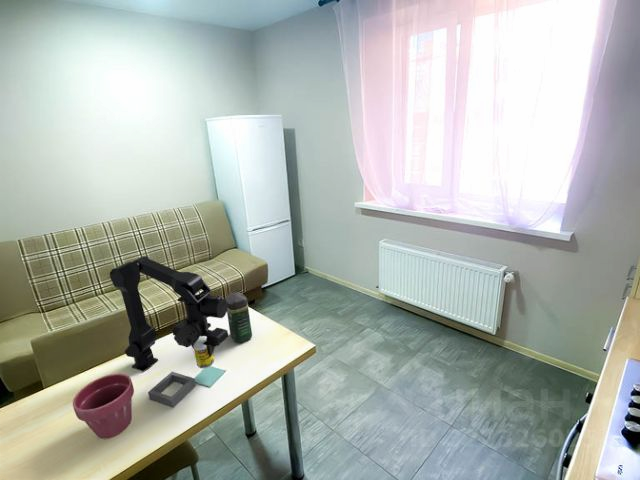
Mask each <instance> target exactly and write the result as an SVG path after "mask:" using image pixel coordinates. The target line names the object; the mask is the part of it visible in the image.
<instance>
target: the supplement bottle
mask: <svg viewBox="0 0 640 480" xmlns="http://www.w3.org/2000/svg"><path fill="white" fill-rule="evenodd" d="M206 338H207V337H206V336H203V337H201V336H200V337H199V339H198V340H197V341H196V343H195V344H194V346H193V347H194V349H193V352H194V357H195V362H196V366H197V367H198V368H199V369H204V368H208V367H210V366H212V365H213V364H214V362H215V358H214V354H213V355H212V356H211V357H210V356H209V354H208V350H207V346H206V345H204V344H203V343H204V342H205V341H206Z"/></svg>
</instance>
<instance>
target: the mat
mask: <svg viewBox="0 0 640 480" xmlns="http://www.w3.org/2000/svg"><path fill="white" fill-rule="evenodd" d="M226 372H227V370H225V369H223V368H218V367H215V366H212V365H211V366H210V367H208V368H202V370H200V372H199V373H198V374H196V375H195V377H193V378H194V379H195V383H196V384H199V385H202V386H205V387H206V388H207V387H208V388H211V387H213V385H214V384H215V383H216V382H217V381H218V380H219V379H220V378H221V377H222V376H223V375H224V374H225V373H226Z"/></svg>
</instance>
